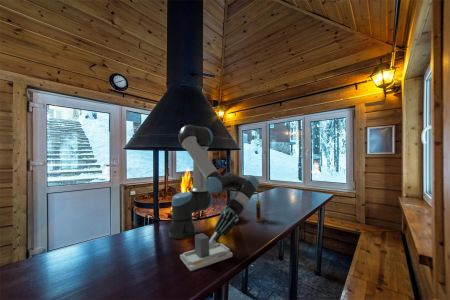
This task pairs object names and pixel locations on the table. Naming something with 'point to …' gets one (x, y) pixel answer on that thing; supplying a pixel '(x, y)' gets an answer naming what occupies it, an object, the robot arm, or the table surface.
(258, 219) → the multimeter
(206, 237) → the switch tab
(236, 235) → the table surface
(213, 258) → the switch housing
